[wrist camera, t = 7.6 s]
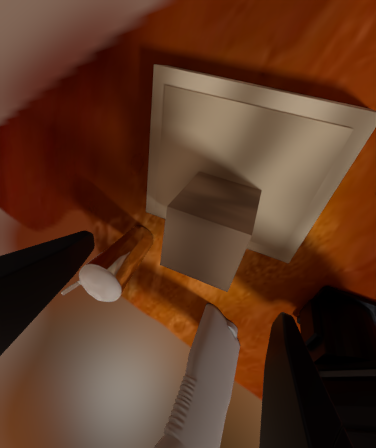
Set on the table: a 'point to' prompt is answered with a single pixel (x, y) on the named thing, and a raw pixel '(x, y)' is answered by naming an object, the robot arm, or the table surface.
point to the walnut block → (209, 229)
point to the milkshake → (114, 266)
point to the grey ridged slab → (204, 385)
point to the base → (252, 148)
